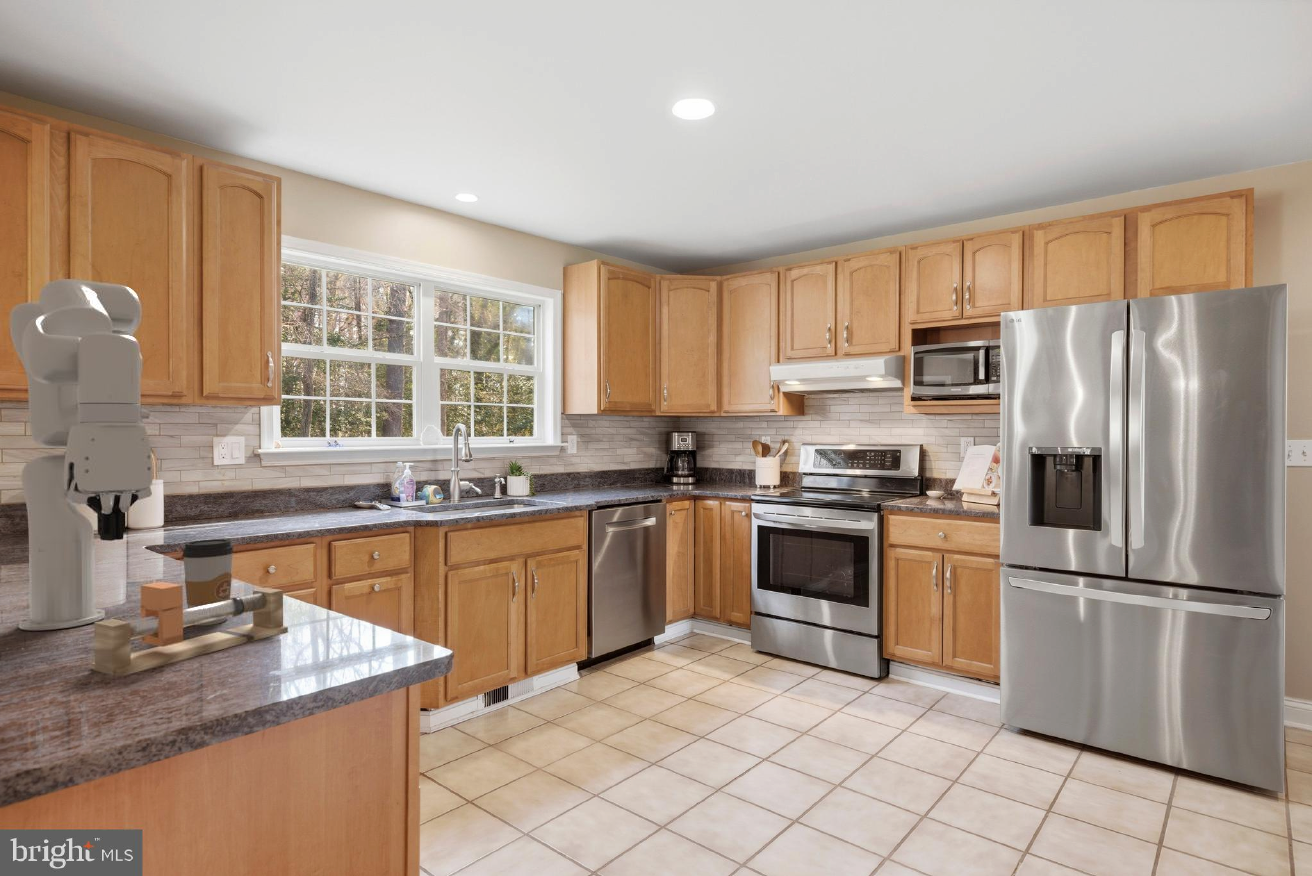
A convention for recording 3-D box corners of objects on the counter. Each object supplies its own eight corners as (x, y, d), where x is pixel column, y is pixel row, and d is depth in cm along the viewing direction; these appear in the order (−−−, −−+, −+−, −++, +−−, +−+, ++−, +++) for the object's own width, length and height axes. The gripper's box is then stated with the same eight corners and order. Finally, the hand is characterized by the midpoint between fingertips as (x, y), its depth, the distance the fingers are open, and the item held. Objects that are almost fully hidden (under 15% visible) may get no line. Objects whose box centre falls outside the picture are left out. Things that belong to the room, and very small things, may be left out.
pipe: (118, 646, 109) (118, 624, 109) (106, 643, 110) (106, 622, 110) (273, 609, 131) (273, 591, 131) (262, 607, 133) (262, 590, 133)
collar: (163, 646, 113) (162, 588, 113) (141, 641, 116) (140, 585, 116) (183, 641, 116) (182, 585, 116) (161, 637, 119) (160, 581, 119)
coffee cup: (210, 628, 133) (209, 546, 133) (171, 626, 135) (170, 544, 135) (244, 616, 142) (244, 539, 142) (207, 614, 143) (207, 538, 143)
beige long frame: (118, 676, 107) (117, 627, 107) (89, 668, 110) (89, 621, 110) (288, 631, 131) (288, 591, 131) (260, 625, 135) (260, 586, 135)
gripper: (149, 418, 118) (151, 532, 118) (37, 416, 104) (38, 545, 104) (176, 417, 114) (178, 534, 114) (63, 415, 101) (65, 548, 101)
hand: (111, 539), depth 109 cm, fingers closed
